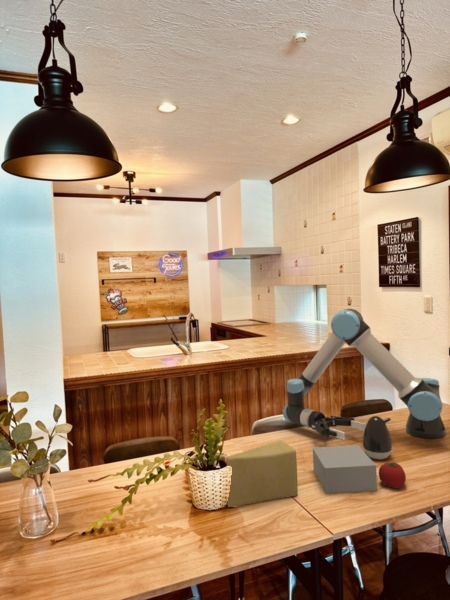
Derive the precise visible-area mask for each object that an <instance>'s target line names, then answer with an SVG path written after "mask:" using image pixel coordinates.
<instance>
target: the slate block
mask: <svg viewBox="0 0 450 600" xmlns="http://www.w3.org/2000/svg"><path fill="white" fill-rule="evenodd" d="M312 464H313V466H312V467H313V472H314V474H315V476H316V478H317V480H318V481H319V483H320V485H321V487H322V489H323V491H324V492H325V494H327V495H328V494H343V493H344V494H346V493H359V492H360V493H361V492H362V493H363V492H377V491H378V478H377V477H378V476H377V474H378V473H377V465H376V463H375V462H374V461H373V460H372V458H371V457H369V456H368V455H367V454H366V452H365V450H363V449H362V448H361V447H360V446H359V445H354V444H353V445H337V446H322V447H319V446H318V447H312Z"/></svg>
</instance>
